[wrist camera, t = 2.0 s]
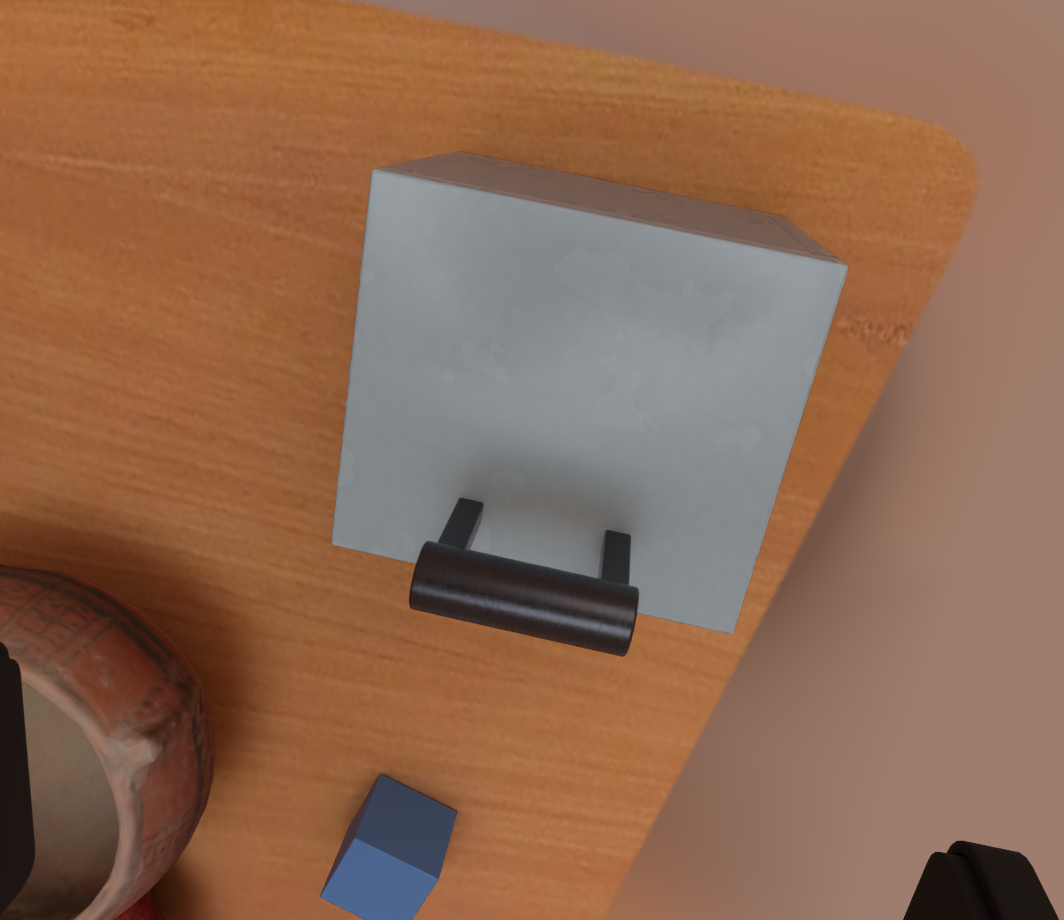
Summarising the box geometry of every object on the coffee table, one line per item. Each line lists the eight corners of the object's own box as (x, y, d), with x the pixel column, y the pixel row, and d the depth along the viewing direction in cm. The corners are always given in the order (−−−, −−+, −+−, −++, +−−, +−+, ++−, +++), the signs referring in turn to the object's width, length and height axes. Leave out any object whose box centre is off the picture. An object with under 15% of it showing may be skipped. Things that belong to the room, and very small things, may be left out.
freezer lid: (730, 620, 25) (751, 746, 20) (338, 533, 26) (264, 635, 21) (843, 260, 21) (903, 305, 16) (379, 166, 22) (300, 182, 17)
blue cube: (347, 829, 43) (319, 897, 39) (380, 772, 41) (354, 838, 37) (422, 866, 43) (400, 937, 39) (457, 811, 41) (438, 879, 38)
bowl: (309, 638, 39) (203, 804, 29) (182, 863, 44) (59, 1060, 35) (-21, 456, 37) (-241, 569, 28) (-108, 711, 43) (-314, 875, 34)
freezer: (714, 467, 34) (738, 595, 25) (422, 404, 34) (341, 507, 25) (785, 216, 30) (843, 260, 21) (458, 150, 31) (380, 166, 22)
